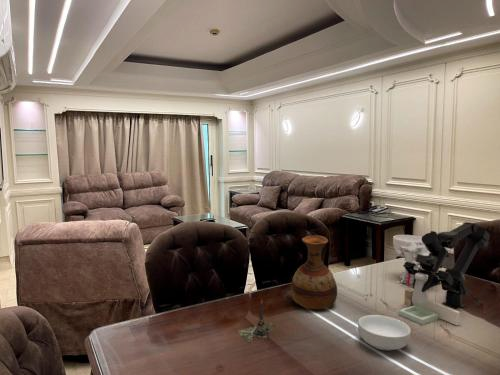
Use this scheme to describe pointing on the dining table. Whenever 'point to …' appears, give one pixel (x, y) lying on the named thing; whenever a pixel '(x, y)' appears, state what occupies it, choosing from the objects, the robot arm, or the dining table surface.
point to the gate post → (408, 297)
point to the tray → (418, 315)
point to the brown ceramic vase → (314, 277)
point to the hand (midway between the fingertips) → (417, 290)
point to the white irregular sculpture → (409, 252)
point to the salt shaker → (419, 291)
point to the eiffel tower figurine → (257, 329)
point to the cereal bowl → (384, 332)
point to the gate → (443, 312)
